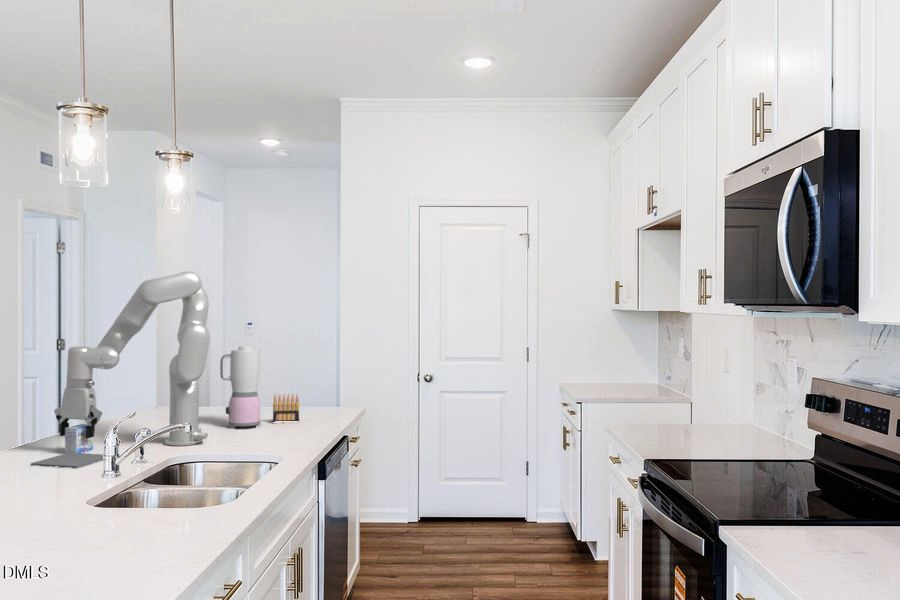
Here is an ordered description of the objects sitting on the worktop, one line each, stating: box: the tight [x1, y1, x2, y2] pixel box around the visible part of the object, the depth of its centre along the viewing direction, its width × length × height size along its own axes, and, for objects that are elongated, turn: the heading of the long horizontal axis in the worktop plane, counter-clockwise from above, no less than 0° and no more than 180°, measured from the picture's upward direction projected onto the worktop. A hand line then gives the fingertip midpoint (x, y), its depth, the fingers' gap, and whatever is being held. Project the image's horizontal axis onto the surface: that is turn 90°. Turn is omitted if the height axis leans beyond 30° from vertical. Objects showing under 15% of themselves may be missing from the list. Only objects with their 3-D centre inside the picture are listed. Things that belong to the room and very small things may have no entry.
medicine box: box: [64, 423, 94, 454], centre depth 229 cm, size 8×4×9 cm, turn 168°
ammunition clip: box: [272, 393, 300, 423], centre depth 289 cm, size 11×2×12 cm, turn 101°
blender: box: [219, 345, 262, 429], centre depth 278 cm, size 16×12×32 cm
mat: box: [30, 452, 104, 469], centre depth 215 cm, size 16×16×1 cm
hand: (76, 436), depth 229 cm, fingers open, 9 cm apart
